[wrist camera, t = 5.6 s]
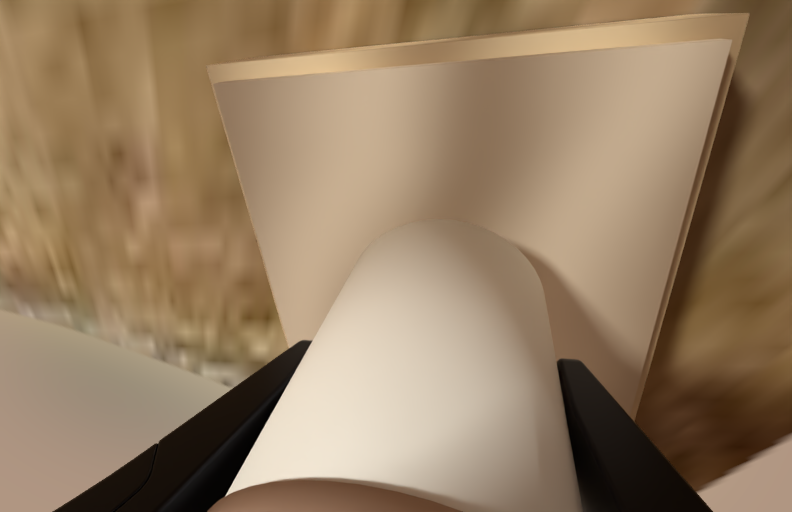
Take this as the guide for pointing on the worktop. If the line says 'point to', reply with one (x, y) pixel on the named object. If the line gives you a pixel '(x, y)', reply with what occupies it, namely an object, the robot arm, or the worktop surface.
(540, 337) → the spice tin
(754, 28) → the worktop surface
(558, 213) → the block
